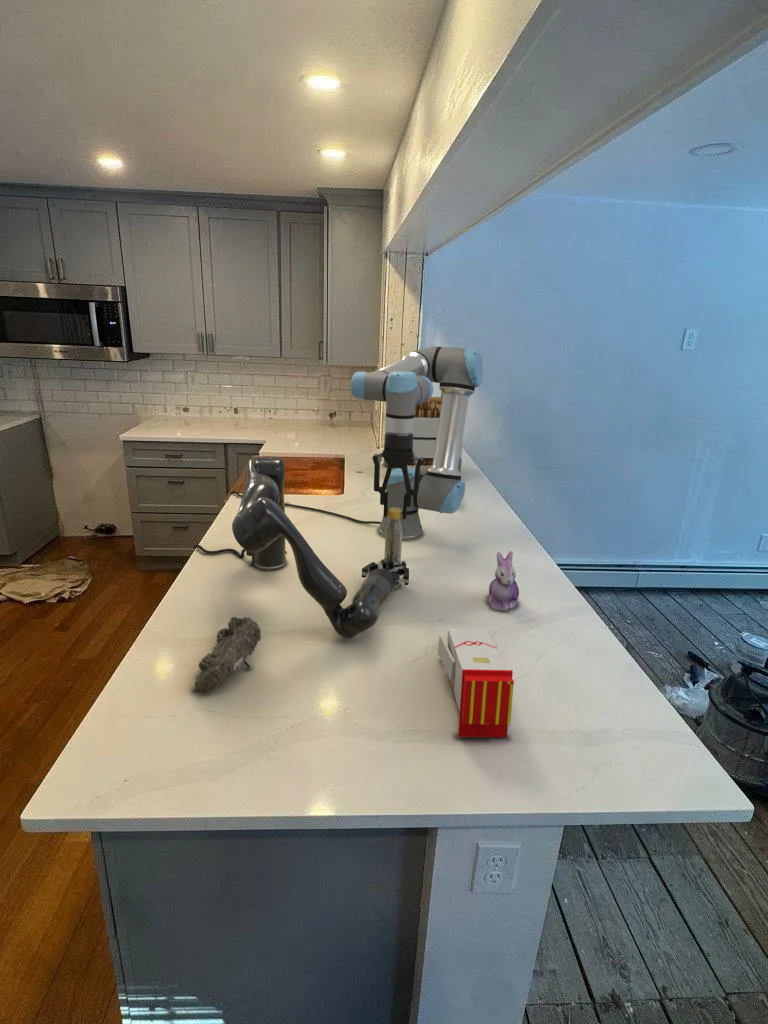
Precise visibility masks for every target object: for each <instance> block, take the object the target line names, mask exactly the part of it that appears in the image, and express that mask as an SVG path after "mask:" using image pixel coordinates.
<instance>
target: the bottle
mask: <svg viewBox="0 0 768 1024" xmlns="http://www.w3.org/2000/svg"><path fill="white" fill-rule="evenodd" d="M402 532H403V529H402V525H401V521H400V519H391V518H390V520H389V522H388V524H387V526H386V534H385V538H384V554H383V555H384V557H383V559H384V569H387V570H391V569H393V568H395V567H399V566H400V564H401V563H402V549H403V540H402ZM399 578H401V577H399ZM400 584H401V582H399V583H398V584H397V585H395V587H394V589H393V590H396V589H398V588H400Z"/></svg>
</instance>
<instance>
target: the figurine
mask: <svg viewBox="0 0 768 1024" xmlns="http://www.w3.org/2000/svg"><path fill="white" fill-rule="evenodd" d="M513 556H514V553H513V551H512V550H510V551H508V553H507V555H506V556H505V558H504V556H503V555H502V553H501V552H500V551H497V552H496V562H497V563H496V564H497V567H496V569H495V571H494V576H495V578H494V579H492V581H491V582H489V585H488V596H487V601H488V602H487V603H489V605H491V608H492V609H493V610H496V611H497V610H498V611H503V612H505V611H507V610H511V609H514V608H515V606H516V605H517V603H518V599H519V596H520V590H519V585H518V583H517V581H516V576H517V575H516V571H515V568H514V566H513Z"/></svg>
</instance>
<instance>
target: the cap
mask: <svg viewBox="0 0 768 1024" xmlns="http://www.w3.org/2000/svg"><path fill="white" fill-rule="evenodd" d="M402 513H403V512H402V509H400V508H396V507H393V508H389V509H388V515H387V516H388V517H389V518H391V519H400V518H402Z"/></svg>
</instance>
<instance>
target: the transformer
mask: <svg viewBox="0 0 768 1024" xmlns="http://www.w3.org/2000/svg"><path fill="white" fill-rule="evenodd" d="M440 393H441V394H440V396H431V398H430V399H429V400H428V401H426V402H425V403H423V404H421V405H416V406H415V420H414V432H413V433H412V434H413V452H414V455H415V456H418V457H423V462H422V464H421V467H431V466H432V465H433V458H434V451H435V444H436V438H437V431H438V424H439V417H440V411H441V404H442V397H443V393H442V391H440ZM463 442H464V441H463V440H462V445H461V451H460V457H459V464H458V471H459V472H460V474H461V475H462V473H461V472H462V461H463V460H462V453H463ZM383 466H384V467H388V464H387V462H386V461H385V459H384V458H383ZM407 466H408V467H416V465H415V464H414V460H413V459H412V460H411V462H410V463H409V464H408V465H407ZM393 469H397V468H392V470H393Z"/></svg>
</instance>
